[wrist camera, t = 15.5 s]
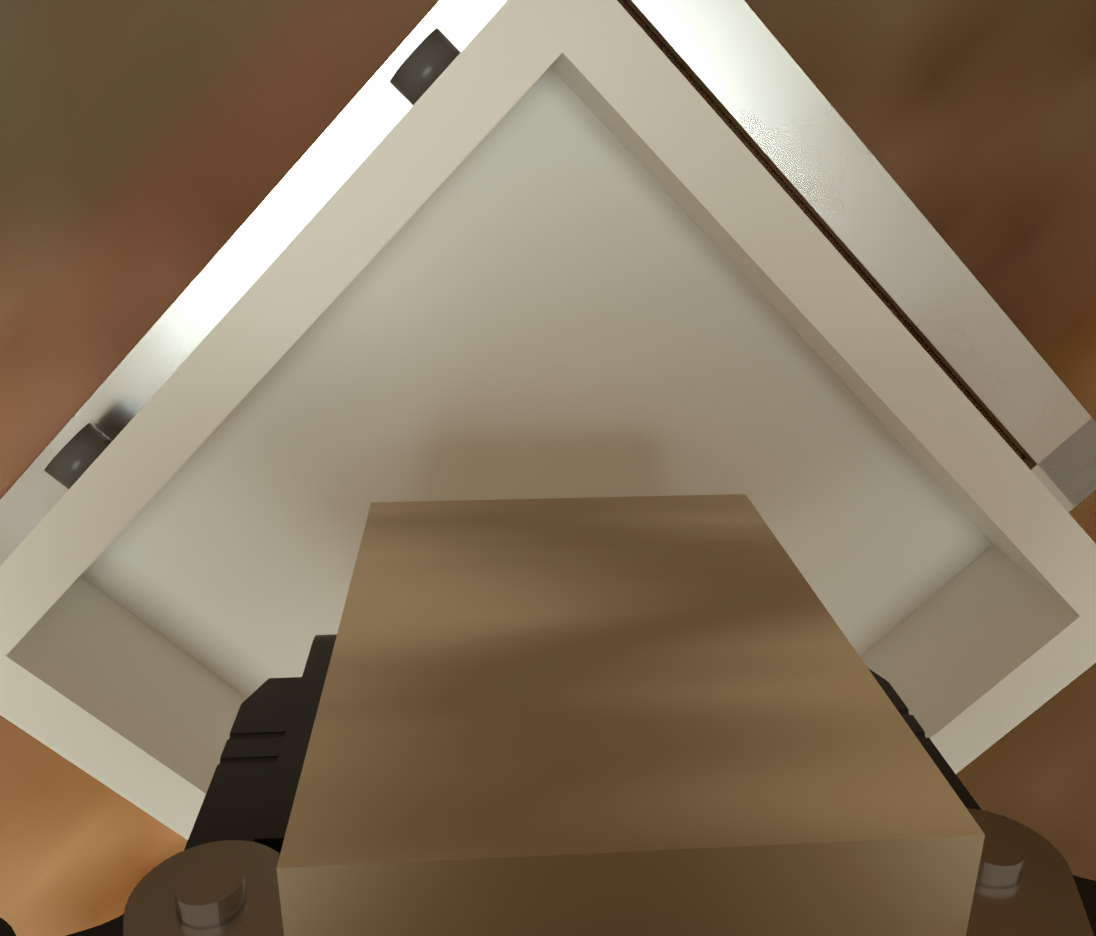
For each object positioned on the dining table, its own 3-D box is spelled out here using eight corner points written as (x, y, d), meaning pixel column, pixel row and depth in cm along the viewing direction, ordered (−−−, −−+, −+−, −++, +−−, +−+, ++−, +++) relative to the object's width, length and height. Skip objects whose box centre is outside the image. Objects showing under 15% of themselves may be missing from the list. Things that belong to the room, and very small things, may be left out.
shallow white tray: (566, 931, 20) (586, 1106, 17) (5, 520, 16) (-125, 631, 13) (1039, 534, 18) (1179, 639, 14) (511, -51, 14) (522, -107, 10)
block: (745, 493, 12) (986, 835, 6) (721, 800, 14) (898, 1290, 8) (371, 502, 12) (276, 868, 6) (391, 813, 13) (328, 1335, 8)
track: (233, 1198, 23) (229, 1216, 23) (-336, 885, 19) (-353, 901, 19) (1115, 454, 18) (1129, 461, 18) (592, -170, 14) (595, -177, 14)
